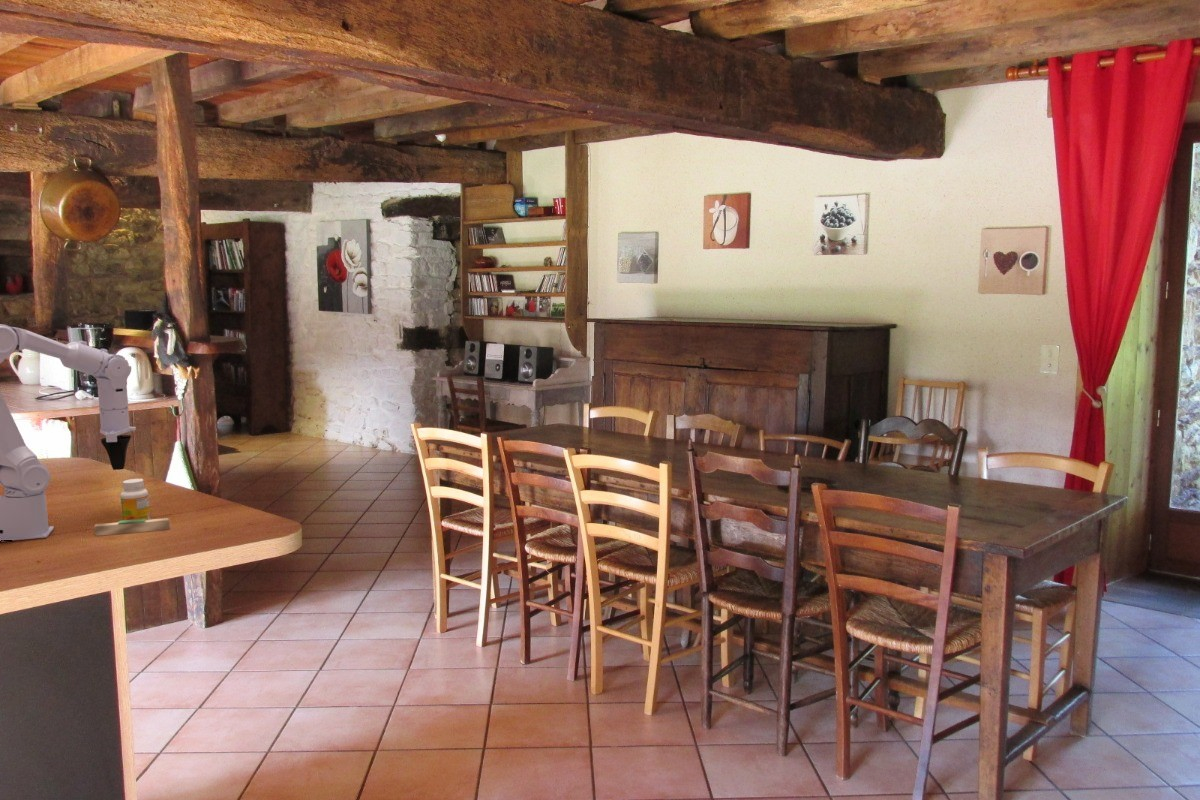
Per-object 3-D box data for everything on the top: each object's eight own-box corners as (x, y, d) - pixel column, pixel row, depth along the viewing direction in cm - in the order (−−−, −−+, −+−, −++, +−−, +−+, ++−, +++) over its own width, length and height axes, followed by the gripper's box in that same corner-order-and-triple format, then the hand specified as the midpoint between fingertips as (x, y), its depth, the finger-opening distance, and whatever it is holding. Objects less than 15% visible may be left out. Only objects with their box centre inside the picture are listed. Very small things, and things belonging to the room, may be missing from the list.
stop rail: (94, 536, 200) (94, 525, 200) (96, 533, 202) (95, 522, 202) (168, 529, 205) (168, 518, 205) (169, 527, 207) (169, 516, 207)
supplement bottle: (117, 526, 208) (113, 482, 207) (141, 520, 212) (136, 477, 211) (133, 529, 205) (128, 484, 204) (156, 523, 210) (152, 479, 208)
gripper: (129, 411, 209) (134, 474, 211) (137, 403, 223) (142, 461, 225) (93, 413, 207) (98, 476, 209) (103, 405, 220) (108, 464, 222)
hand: (118, 469), depth 216 cm, fingers closed
